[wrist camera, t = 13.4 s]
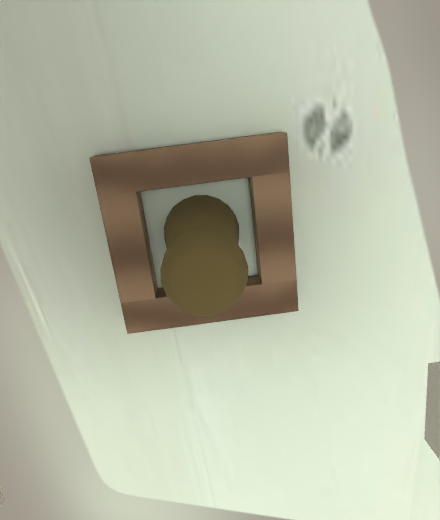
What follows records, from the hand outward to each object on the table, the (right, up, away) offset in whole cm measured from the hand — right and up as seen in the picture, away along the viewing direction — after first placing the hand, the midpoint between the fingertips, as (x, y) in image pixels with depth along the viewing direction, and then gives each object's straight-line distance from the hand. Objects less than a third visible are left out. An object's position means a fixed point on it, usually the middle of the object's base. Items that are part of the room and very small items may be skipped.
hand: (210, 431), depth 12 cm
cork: (-1, +7, +22) cm, 23 cm away
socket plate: (-1, +7, +21) cm, 23 cm away
